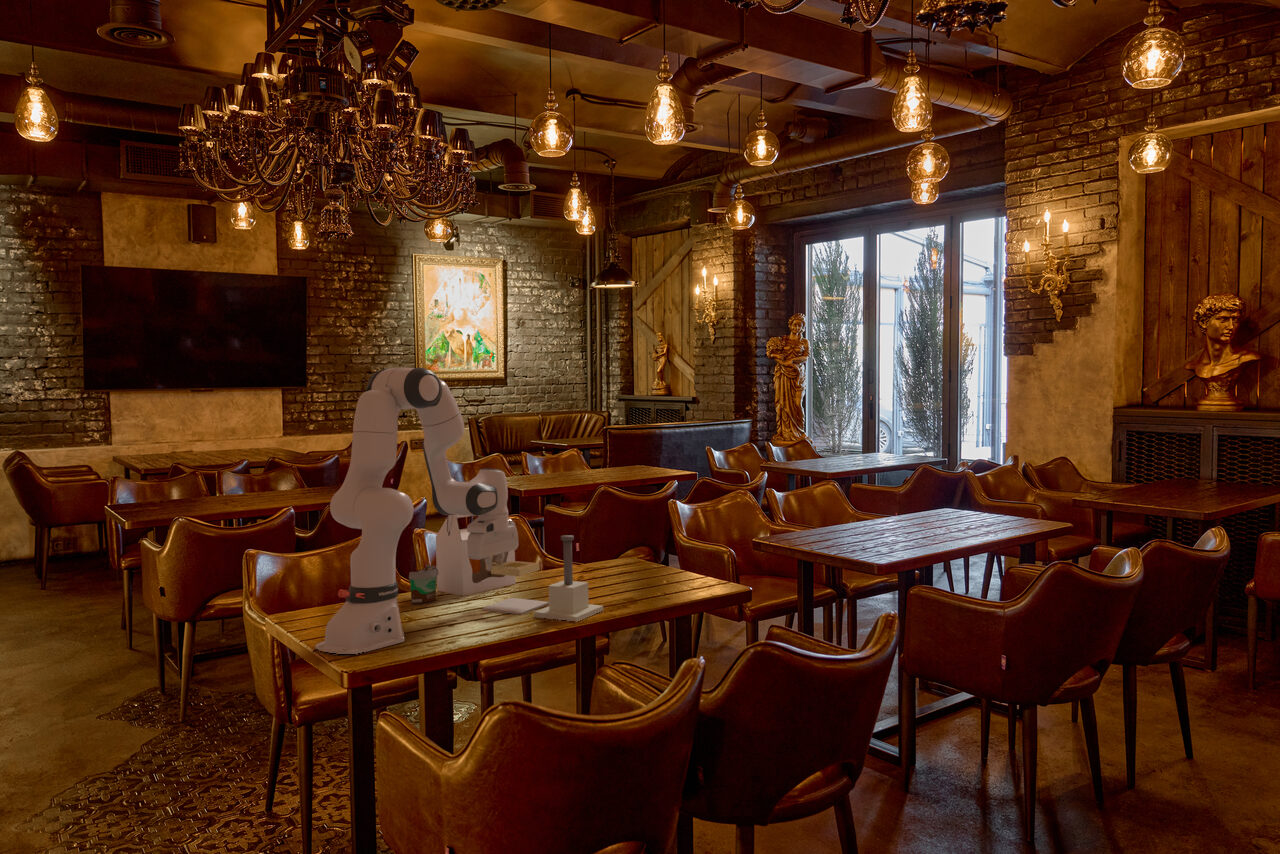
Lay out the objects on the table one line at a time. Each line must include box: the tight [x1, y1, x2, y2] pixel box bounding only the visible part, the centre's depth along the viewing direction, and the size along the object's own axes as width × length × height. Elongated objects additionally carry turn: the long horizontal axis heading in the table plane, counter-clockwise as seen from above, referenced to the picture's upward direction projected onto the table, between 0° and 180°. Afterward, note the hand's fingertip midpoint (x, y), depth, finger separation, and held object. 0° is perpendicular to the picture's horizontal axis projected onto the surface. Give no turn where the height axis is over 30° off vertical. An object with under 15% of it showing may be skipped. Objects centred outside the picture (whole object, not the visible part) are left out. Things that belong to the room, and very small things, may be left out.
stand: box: [533, 534, 604, 623], centre depth 253 cm, size 14×14×22 cm
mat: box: [481, 597, 549, 615], centre depth 264 cm, size 14×14×1 cm
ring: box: [486, 560, 540, 577], centre depth 264 cm, size 10×15×2 cm, turn 62°
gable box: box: [435, 515, 517, 597], centre depth 291 cm, size 22×13×28 cm, turn 139°
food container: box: [408, 564, 439, 606], centre depth 273 cm, size 12×6×10 cm, turn 168°
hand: (494, 569), depth 267 cm, fingers closed on ring, 2 cm apart
